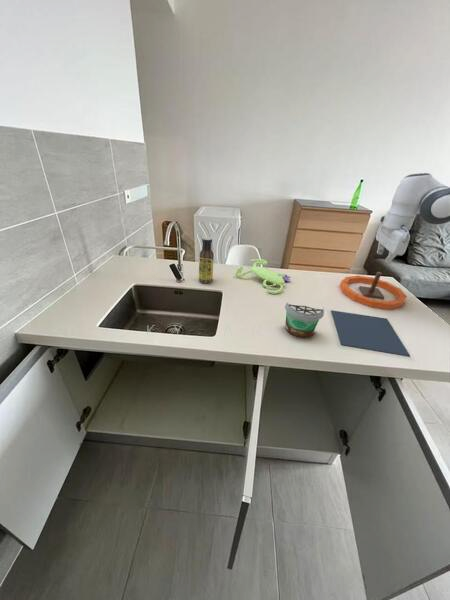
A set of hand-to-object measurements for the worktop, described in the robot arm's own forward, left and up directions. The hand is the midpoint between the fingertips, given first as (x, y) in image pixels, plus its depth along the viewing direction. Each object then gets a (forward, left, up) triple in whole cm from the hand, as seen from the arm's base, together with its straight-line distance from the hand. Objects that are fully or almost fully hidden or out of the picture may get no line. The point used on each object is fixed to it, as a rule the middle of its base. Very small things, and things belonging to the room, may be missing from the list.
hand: (383, 258), depth 96 cm
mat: (+8, +27, -18) cm, 33 cm away
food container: (+31, +35, -18) cm, 50 cm away
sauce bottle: (+71, +7, -18) cm, 73 cm away
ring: (-2, -3, -18) cm, 18 cm away
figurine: (+46, -3, -18) cm, 49 cm away
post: (-2, -3, -18) cm, 18 cm away
